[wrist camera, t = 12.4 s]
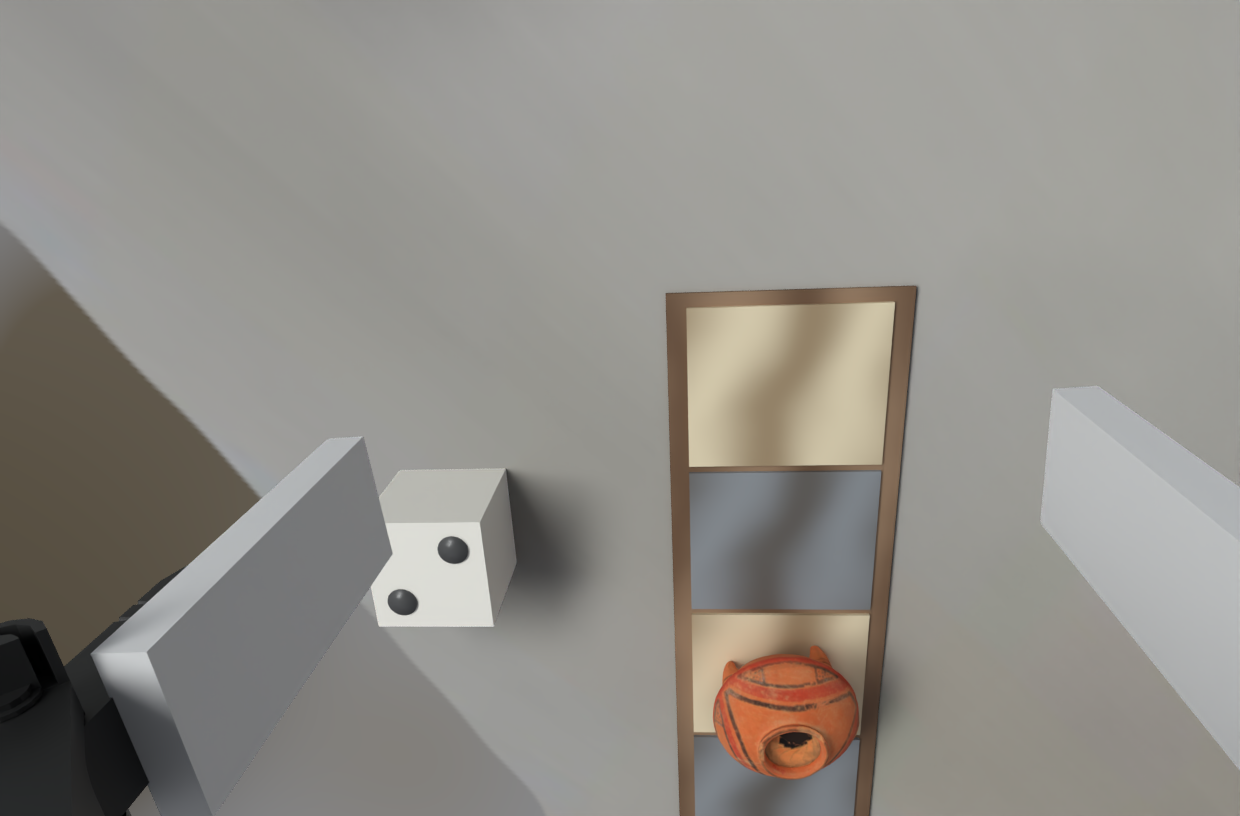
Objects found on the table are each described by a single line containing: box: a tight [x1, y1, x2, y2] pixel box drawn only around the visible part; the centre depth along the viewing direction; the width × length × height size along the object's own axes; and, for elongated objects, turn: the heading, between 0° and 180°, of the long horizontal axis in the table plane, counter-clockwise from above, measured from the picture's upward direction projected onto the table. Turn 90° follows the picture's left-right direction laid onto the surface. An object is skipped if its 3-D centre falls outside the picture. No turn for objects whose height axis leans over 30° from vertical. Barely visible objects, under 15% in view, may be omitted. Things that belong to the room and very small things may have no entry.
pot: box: [713, 646, 859, 780], centre depth 43 cm, size 8×8×7 cm
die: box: [371, 468, 517, 627], centre depth 41 cm, size 6×6×6 cm
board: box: [666, 286, 916, 816], centre depth 44 cm, size 12×37×1 cm, turn 3°
